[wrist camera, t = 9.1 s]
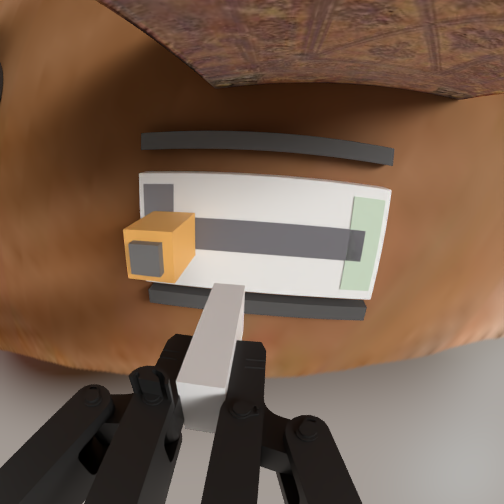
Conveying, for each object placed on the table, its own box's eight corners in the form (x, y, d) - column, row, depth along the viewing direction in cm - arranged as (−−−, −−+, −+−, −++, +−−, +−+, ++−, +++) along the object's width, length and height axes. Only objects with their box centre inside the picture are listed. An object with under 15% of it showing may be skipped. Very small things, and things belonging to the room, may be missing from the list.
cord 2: (153, 282, 31) (148, 289, 29) (363, 300, 29) (366, 307, 28) (155, 295, 31) (150, 302, 30) (359, 312, 30) (363, 320, 29)
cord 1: (148, 133, 25) (141, 133, 24) (388, 148, 24) (394, 148, 22) (147, 149, 26) (141, 149, 24) (386, 164, 24) (392, 165, 23)
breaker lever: (153, 211, 26) (118, 232, 19) (194, 212, 25) (168, 235, 19) (156, 251, 27) (123, 282, 21) (195, 254, 27) (171, 288, 20)
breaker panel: (147, 171, 27) (138, 173, 25) (384, 187, 25) (391, 190, 23) (152, 273, 30) (145, 281, 28) (365, 290, 29) (370, 300, 27)
